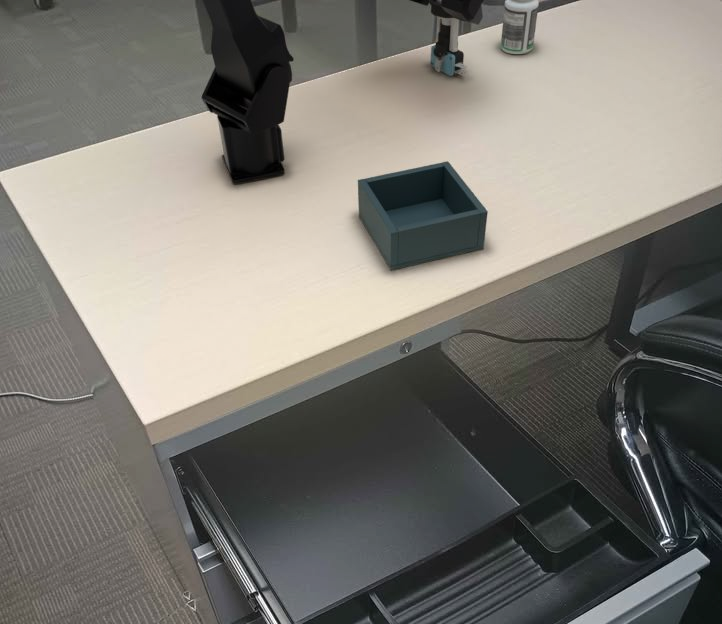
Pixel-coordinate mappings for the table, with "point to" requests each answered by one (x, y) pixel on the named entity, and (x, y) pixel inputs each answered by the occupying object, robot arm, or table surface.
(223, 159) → the robot arm
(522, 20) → the pill bottle
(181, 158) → the table surface
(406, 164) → the table surface
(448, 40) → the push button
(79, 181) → the table surface
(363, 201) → the bin
